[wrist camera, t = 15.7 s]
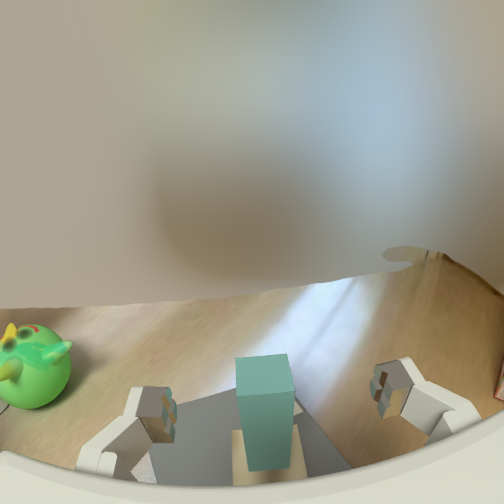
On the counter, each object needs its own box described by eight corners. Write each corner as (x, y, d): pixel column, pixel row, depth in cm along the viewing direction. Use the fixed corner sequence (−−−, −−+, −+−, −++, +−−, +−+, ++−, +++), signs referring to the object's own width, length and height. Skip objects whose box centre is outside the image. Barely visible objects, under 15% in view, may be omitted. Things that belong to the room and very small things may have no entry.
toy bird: (59, 354, 55) (34, 297, 49) (100, 389, 47) (70, 325, 41) (0, 394, 40) (-34, 337, 35) (31, 442, 32) (-15, 381, 27)
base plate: (177, 537, 23) (170, 532, 22) (142, 417, 42) (136, 406, 40) (351, 471, 31) (355, 462, 30) (277, 377, 50) (277, 365, 49)
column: (248, 471, 30) (236, 396, 24) (246, 441, 35) (235, 358, 29) (289, 467, 31) (295, 390, 24) (284, 437, 35) (286, 353, 29)
